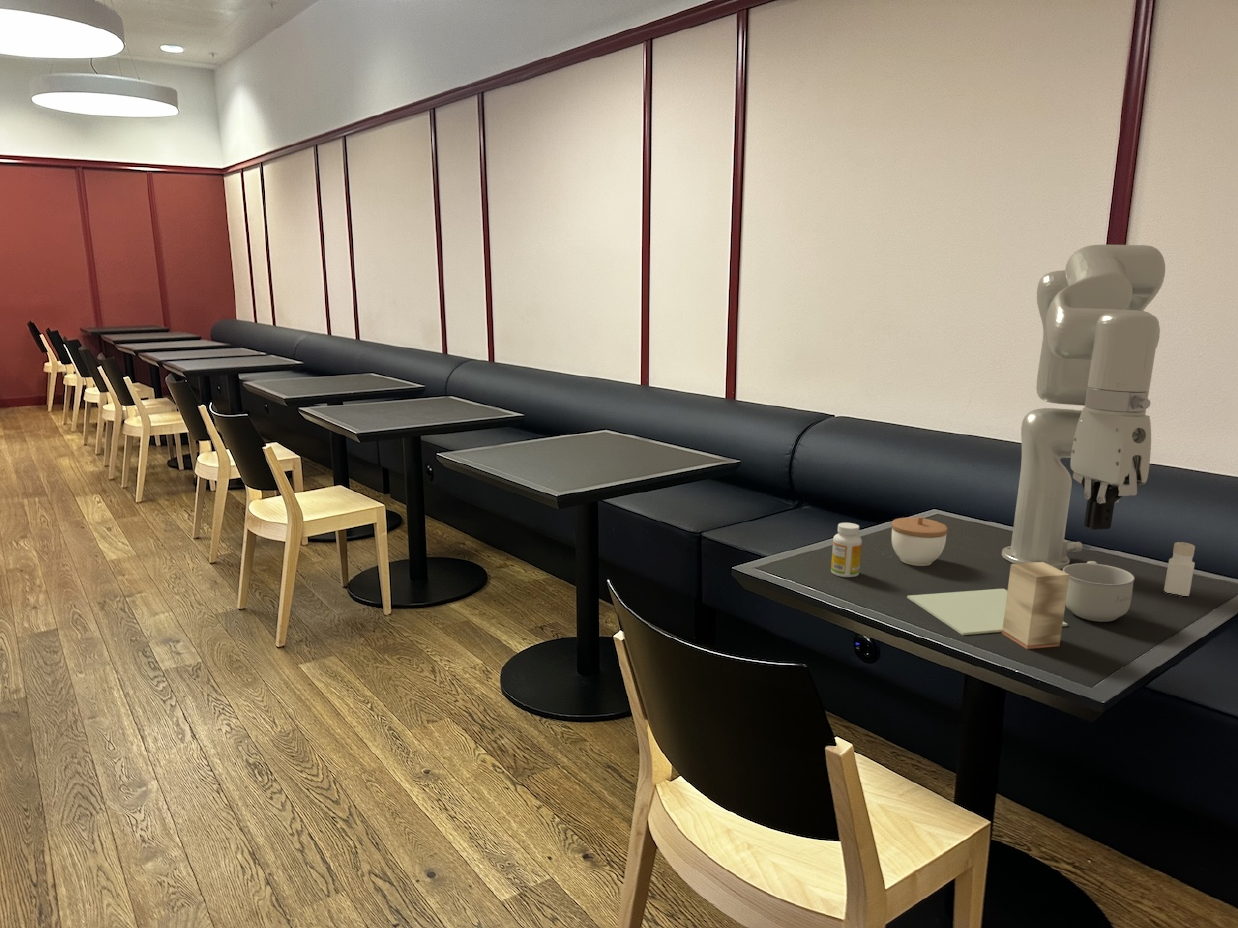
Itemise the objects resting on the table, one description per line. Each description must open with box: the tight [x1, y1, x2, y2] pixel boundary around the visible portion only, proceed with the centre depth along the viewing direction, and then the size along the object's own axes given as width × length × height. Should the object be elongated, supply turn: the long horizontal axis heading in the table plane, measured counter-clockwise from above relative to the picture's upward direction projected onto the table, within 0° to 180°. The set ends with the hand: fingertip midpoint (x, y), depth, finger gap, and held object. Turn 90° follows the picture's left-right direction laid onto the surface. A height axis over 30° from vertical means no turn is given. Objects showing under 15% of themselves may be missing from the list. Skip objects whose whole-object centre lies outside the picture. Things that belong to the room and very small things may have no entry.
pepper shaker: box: [1163, 541, 1196, 597], centre depth 160 cm, size 4×4×10 cm
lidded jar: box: [891, 515, 949, 567], centre depth 175 cm, size 11×11×9 cm
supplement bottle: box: [830, 522, 863, 578], centre depth 167 cm, size 5×5×10 cm
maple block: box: [1001, 562, 1070, 650], centre depth 138 cm, size 6×6×12 cm
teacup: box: [1062, 560, 1135, 623], centre depth 150 cm, size 14×11×8 cm
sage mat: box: [906, 588, 1068, 636], centre depth 150 cm, size 20×16×1 cm
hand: (1097, 527), depth 125 cm, fingers closed
